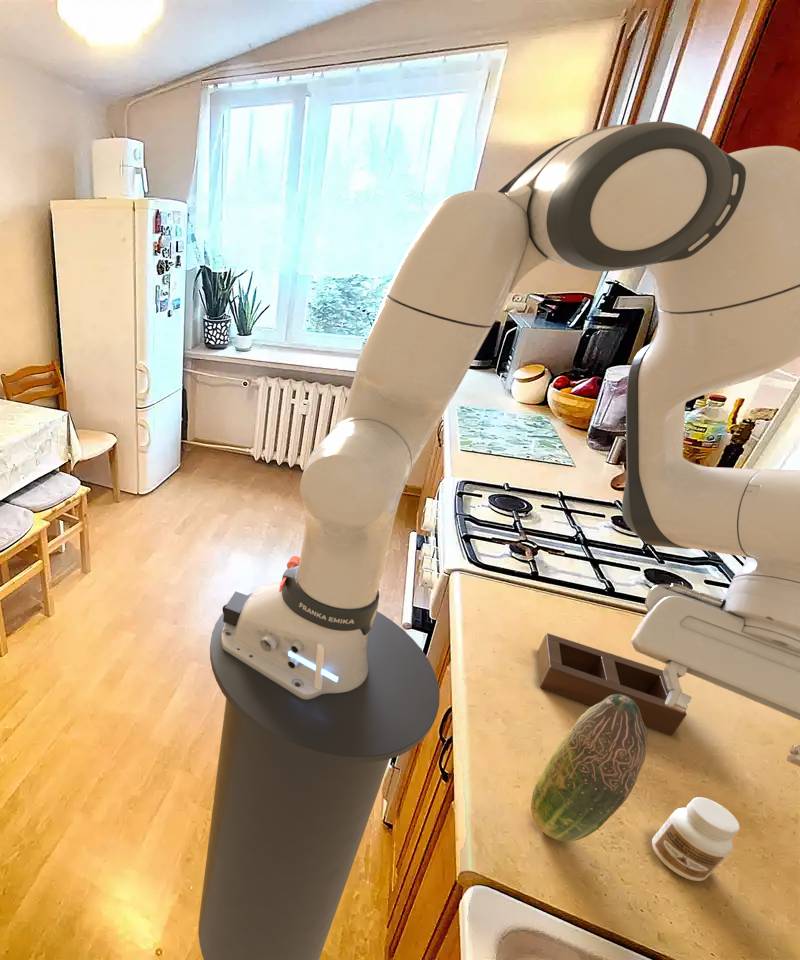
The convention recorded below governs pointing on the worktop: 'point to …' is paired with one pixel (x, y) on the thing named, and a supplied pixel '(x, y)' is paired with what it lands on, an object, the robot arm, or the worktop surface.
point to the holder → (605, 680)
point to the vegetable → (591, 770)
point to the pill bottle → (696, 838)
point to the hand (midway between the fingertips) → (733, 735)
